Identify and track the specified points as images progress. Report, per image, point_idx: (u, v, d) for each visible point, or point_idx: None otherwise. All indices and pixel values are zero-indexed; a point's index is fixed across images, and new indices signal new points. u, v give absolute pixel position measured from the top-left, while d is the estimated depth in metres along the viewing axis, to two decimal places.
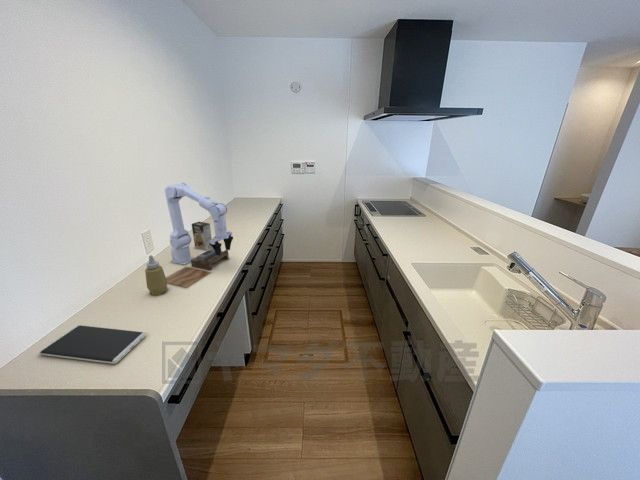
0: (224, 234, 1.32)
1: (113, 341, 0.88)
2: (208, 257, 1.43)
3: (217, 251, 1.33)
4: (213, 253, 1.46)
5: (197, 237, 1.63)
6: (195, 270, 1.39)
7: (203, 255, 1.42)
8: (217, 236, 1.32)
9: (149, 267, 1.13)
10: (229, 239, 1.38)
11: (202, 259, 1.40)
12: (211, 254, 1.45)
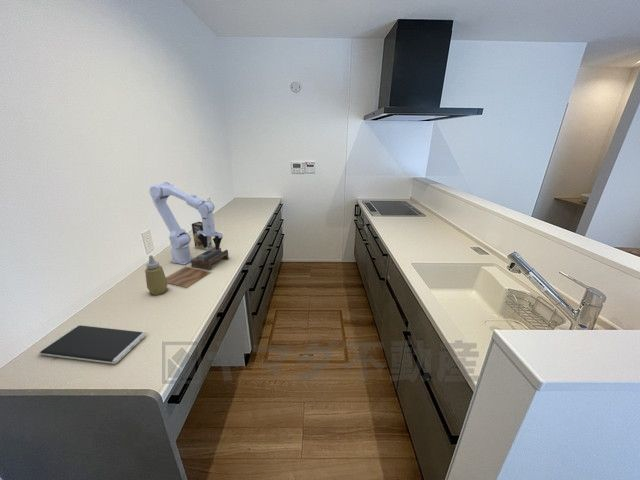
0: (204, 231, 1.38)
1: (113, 341, 0.88)
2: (208, 257, 1.43)
3: None
4: (213, 253, 1.46)
5: (197, 237, 1.63)
6: (195, 270, 1.39)
7: (203, 255, 1.42)
8: None
9: (149, 267, 1.13)
10: None
11: (202, 259, 1.40)
12: (211, 254, 1.45)
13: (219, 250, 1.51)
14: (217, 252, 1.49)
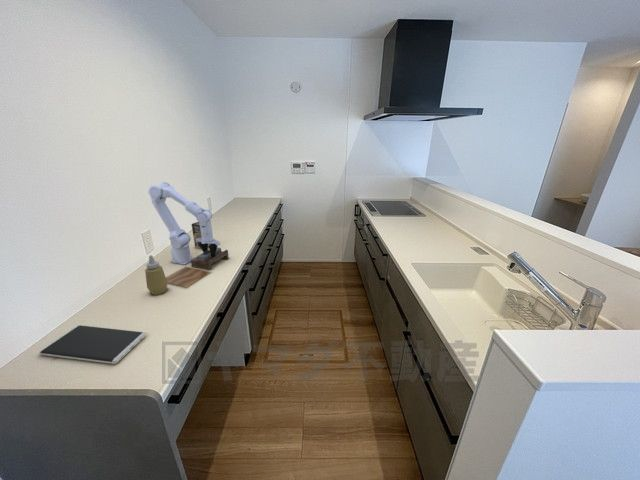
0: (202, 239, 1.41)
1: (113, 341, 0.88)
2: (208, 257, 1.43)
3: None
4: None
5: (197, 237, 1.63)
6: (195, 270, 1.39)
7: (203, 255, 1.42)
8: None
9: (149, 267, 1.13)
10: None
11: (202, 259, 1.40)
12: None
13: (219, 250, 1.51)
14: (217, 252, 1.49)
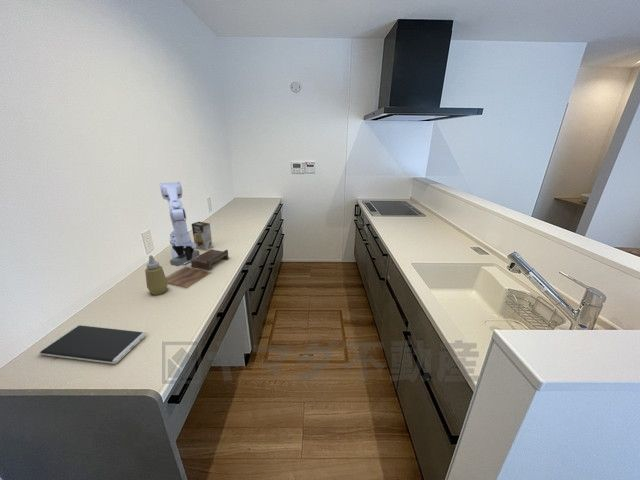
0: (176, 240, 1.25)
1: (113, 341, 0.88)
2: (183, 261, 1.27)
3: None
4: None
5: (197, 237, 1.63)
6: (195, 270, 1.39)
7: (177, 259, 1.25)
8: None
9: (149, 267, 1.13)
10: None
11: (176, 264, 1.24)
12: None
13: (197, 253, 1.35)
14: (194, 255, 1.33)
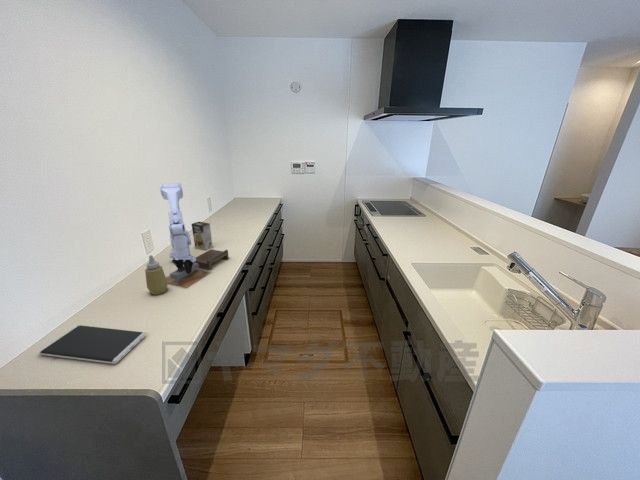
0: (176, 254, 1.26)
1: (113, 341, 0.88)
2: (183, 275, 1.28)
3: None
4: None
5: (197, 237, 1.63)
6: (195, 270, 1.39)
7: (177, 273, 1.26)
8: None
9: (149, 267, 1.13)
10: None
11: (175, 277, 1.25)
12: None
13: (196, 266, 1.36)
14: (194, 268, 1.34)
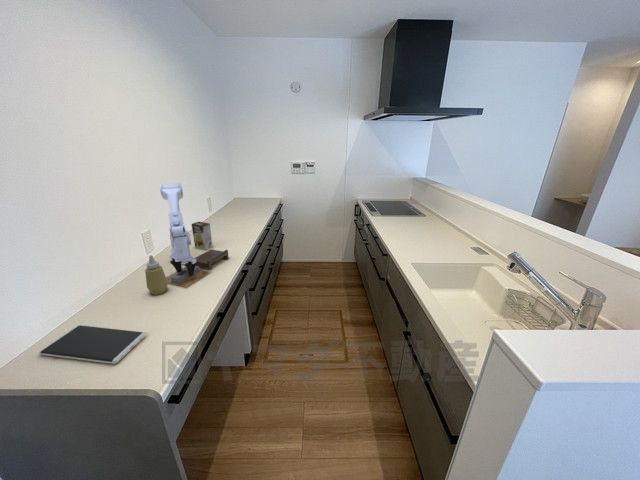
0: (176, 256, 1.26)
1: (113, 341, 0.88)
2: (183, 278, 1.28)
3: None
4: None
5: (197, 237, 1.63)
6: None
7: (177, 276, 1.27)
8: None
9: (149, 267, 1.13)
10: None
11: (176, 281, 1.26)
12: (187, 274, 1.30)
13: (197, 269, 1.36)
14: (194, 272, 1.35)
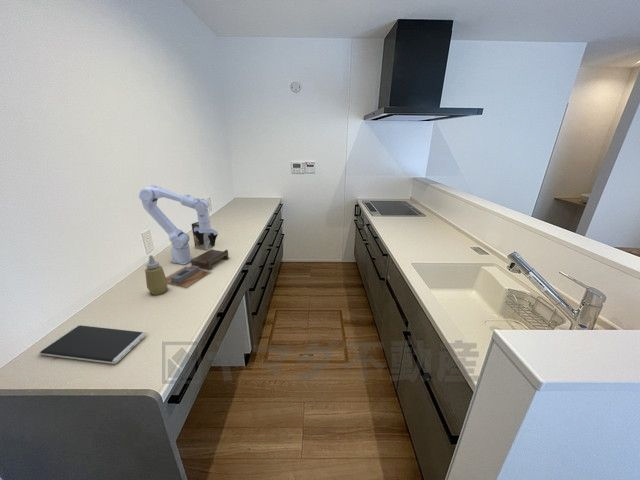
0: (200, 228, 1.42)
1: (113, 341, 0.88)
2: (183, 278, 1.28)
3: None
4: (189, 273, 1.32)
5: None
6: None
7: (177, 276, 1.27)
8: None
9: (149, 267, 1.13)
10: None
11: (176, 281, 1.26)
12: (187, 274, 1.30)
13: (197, 269, 1.36)
14: (194, 272, 1.35)
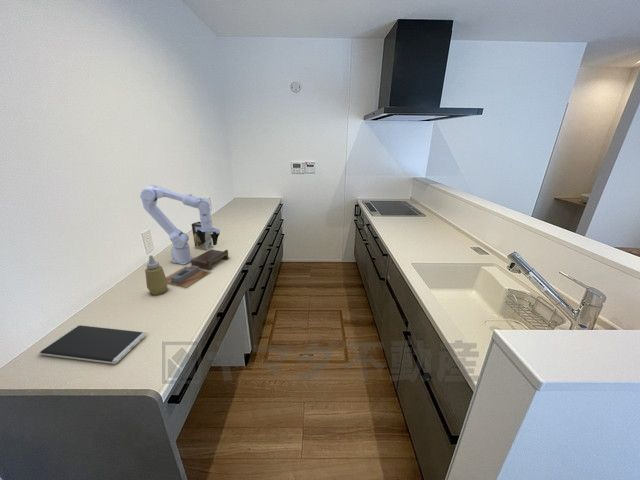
0: (202, 227, 1.44)
1: (113, 341, 0.88)
2: (183, 278, 1.28)
3: None
4: (189, 273, 1.32)
5: (197, 237, 1.63)
6: None
7: (177, 276, 1.27)
8: None
9: (149, 267, 1.13)
10: None
11: (176, 281, 1.26)
12: (187, 274, 1.30)
13: (197, 269, 1.36)
14: (194, 272, 1.35)
